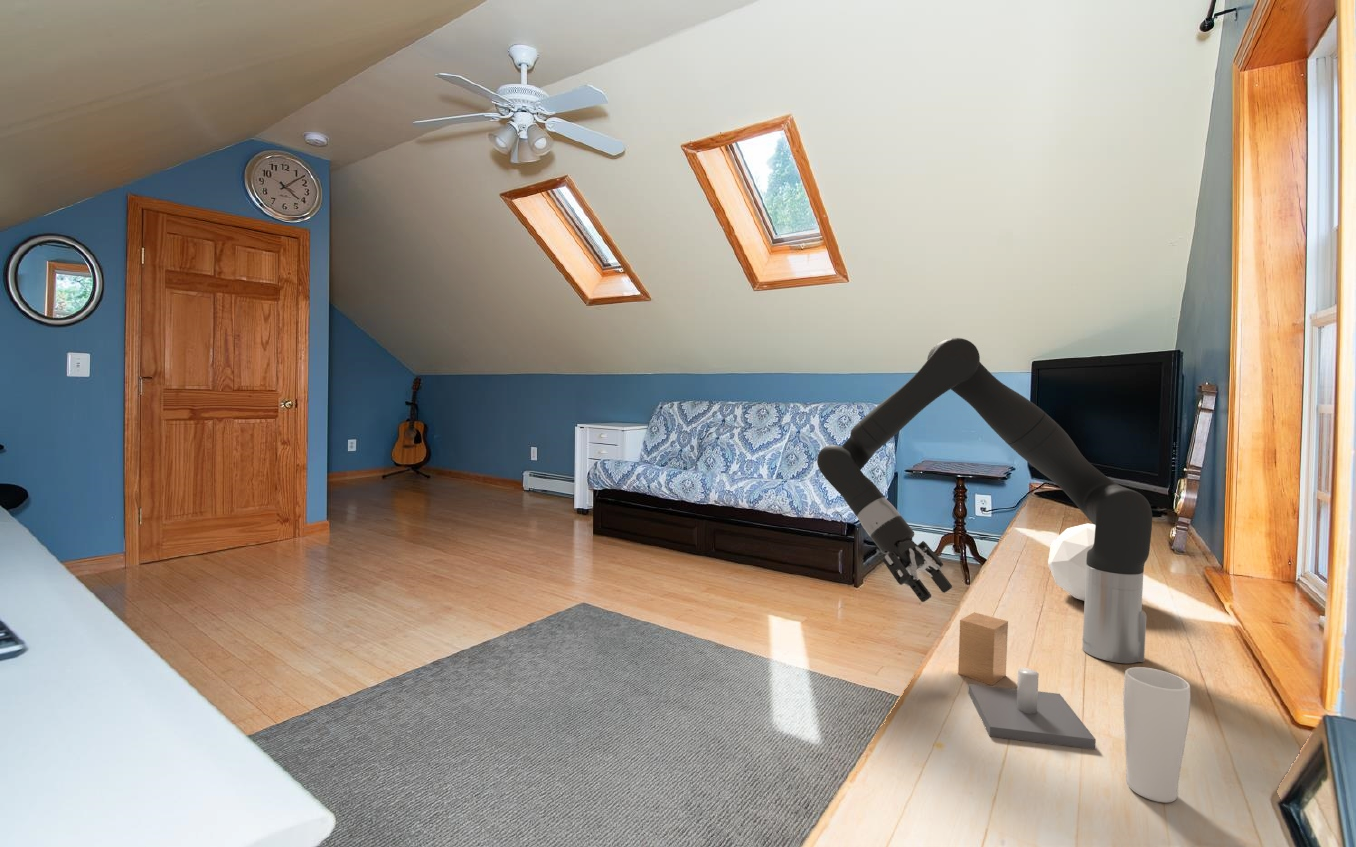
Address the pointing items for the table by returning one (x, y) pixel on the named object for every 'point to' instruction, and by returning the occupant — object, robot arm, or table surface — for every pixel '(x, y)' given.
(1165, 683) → the drinking glass
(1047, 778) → the table surface
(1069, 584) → the geometric orb
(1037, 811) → the table surface
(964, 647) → the wooden block
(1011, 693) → the post base
